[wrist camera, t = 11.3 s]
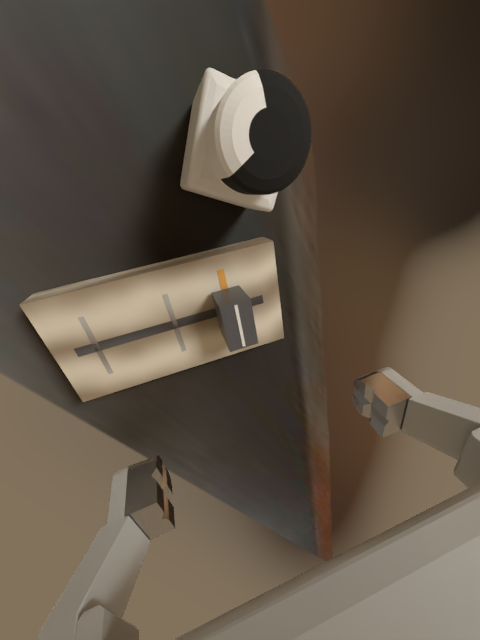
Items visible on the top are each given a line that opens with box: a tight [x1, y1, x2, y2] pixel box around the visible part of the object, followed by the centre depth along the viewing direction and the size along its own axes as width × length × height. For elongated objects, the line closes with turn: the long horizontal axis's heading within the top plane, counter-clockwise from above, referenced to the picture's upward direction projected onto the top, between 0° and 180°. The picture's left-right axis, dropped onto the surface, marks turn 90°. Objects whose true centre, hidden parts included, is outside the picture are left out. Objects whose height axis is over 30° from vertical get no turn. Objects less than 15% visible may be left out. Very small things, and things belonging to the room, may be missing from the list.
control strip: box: [20, 237, 284, 402], centre depth 29 cm, size 12×24×3 cm, turn 101°
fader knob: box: [211, 285, 258, 352], centre depth 26 cm, size 5×3×4 cm, turn 11°
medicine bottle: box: [180, 68, 311, 212], centre depth 20 cm, size 7×7×12 cm
